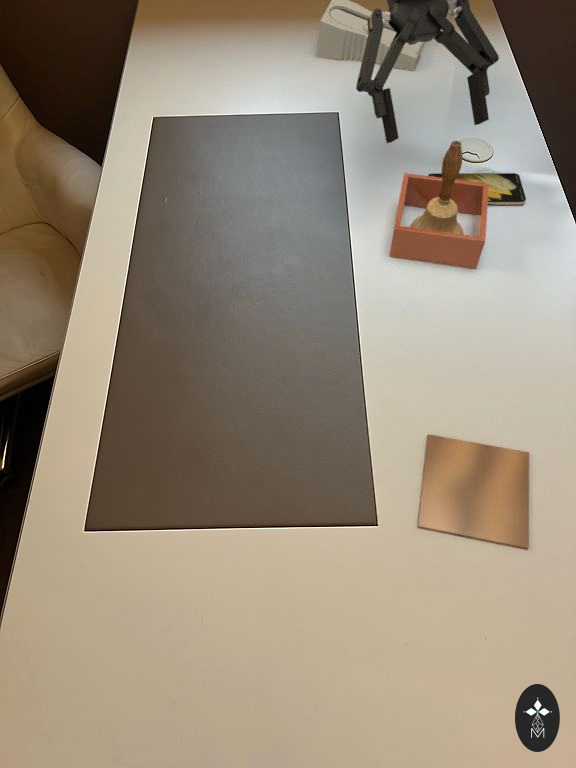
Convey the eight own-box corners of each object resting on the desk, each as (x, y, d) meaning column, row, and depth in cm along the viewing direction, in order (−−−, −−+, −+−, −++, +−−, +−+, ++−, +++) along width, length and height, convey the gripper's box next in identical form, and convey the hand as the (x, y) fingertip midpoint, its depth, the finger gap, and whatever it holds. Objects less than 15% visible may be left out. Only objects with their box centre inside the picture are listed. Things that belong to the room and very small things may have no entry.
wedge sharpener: (329, 30, 131) (331, -6, 126) (424, 43, 128) (430, 7, 122) (316, 56, 126) (317, 20, 120) (414, 71, 122) (420, 34, 116)
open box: (480, 212, 99) (488, 183, 94) (476, 269, 92) (485, 241, 87) (399, 201, 100) (404, 172, 96) (389, 256, 93) (394, 228, 89)
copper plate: (528, 453, 75) (529, 452, 74) (527, 549, 68) (528, 548, 68) (427, 435, 76) (427, 433, 76) (417, 527, 70) (417, 526, 69)
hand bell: (450, 260, 93) (475, 169, 80) (399, 240, 95) (416, 149, 82) (471, 227, 97) (499, 135, 84) (422, 209, 99) (441, 117, 86)
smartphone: (427, 173, 103) (518, 172, 103) (426, 176, 104) (517, 176, 103) (431, 201, 99) (526, 201, 99) (430, 205, 100) (525, 205, 99)
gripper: (481, -34, 89) (503, 121, 93) (314, -7, 85) (346, 154, 89) (509, -62, 81) (532, 107, 86) (329, -34, 77) (362, 142, 82)
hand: (437, 131), depth 87 cm, fingers open, 13 cm apart
